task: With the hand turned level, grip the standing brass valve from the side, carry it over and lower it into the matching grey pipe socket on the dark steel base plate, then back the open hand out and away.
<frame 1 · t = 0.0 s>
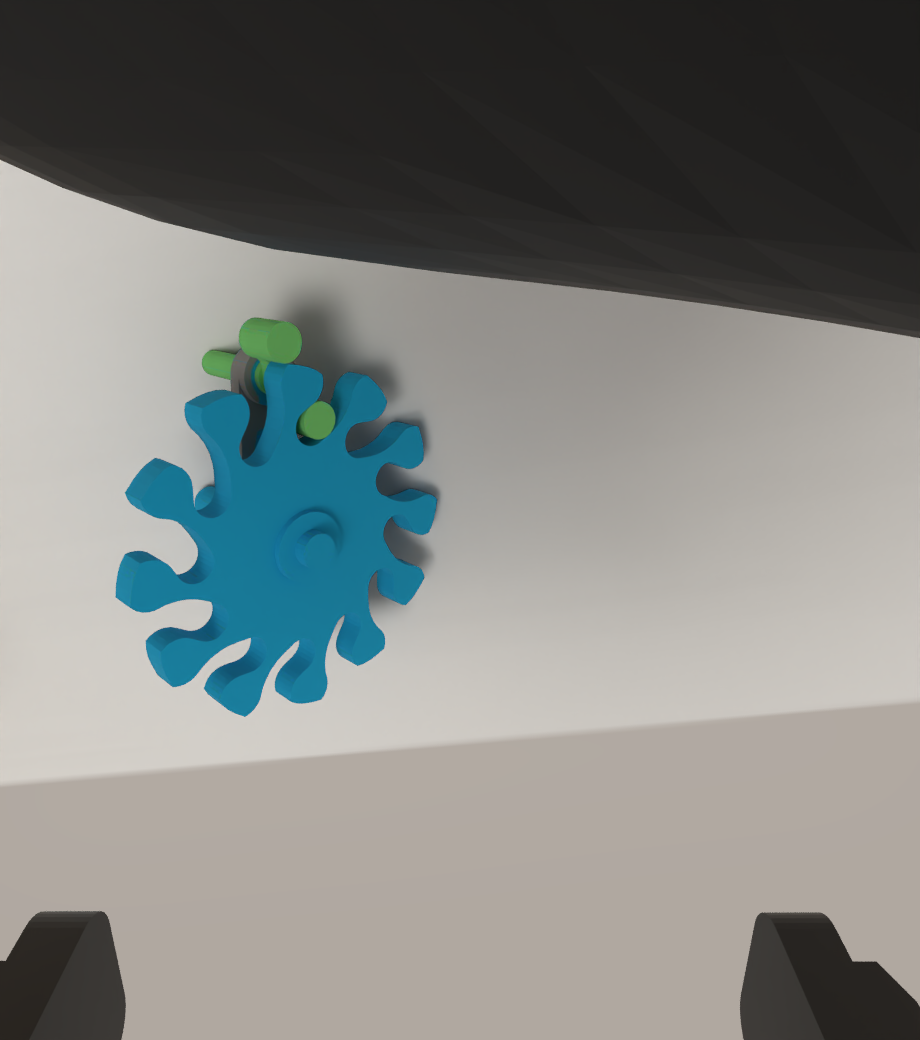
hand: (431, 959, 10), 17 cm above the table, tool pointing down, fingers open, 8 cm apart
gear: (315, 469, 26), on the table
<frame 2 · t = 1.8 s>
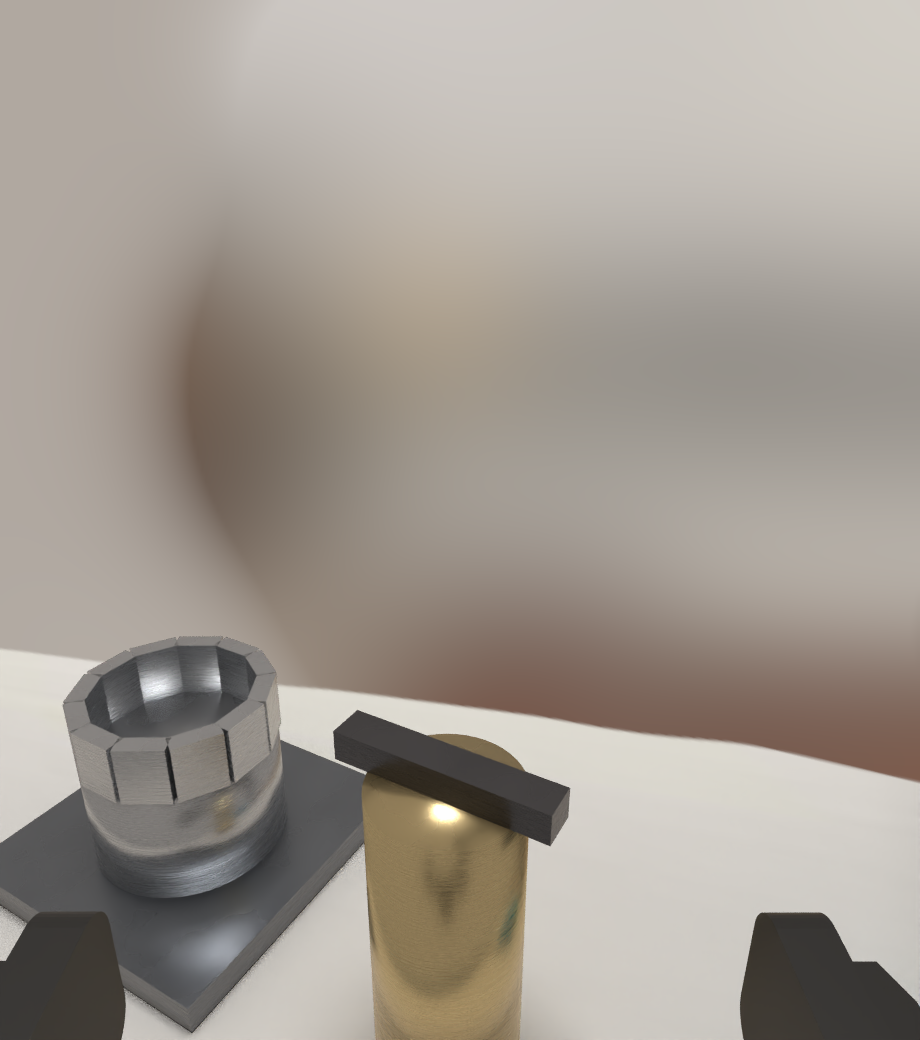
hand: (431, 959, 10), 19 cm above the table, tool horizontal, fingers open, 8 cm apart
pipe socket: (197, 844, 37), on the table
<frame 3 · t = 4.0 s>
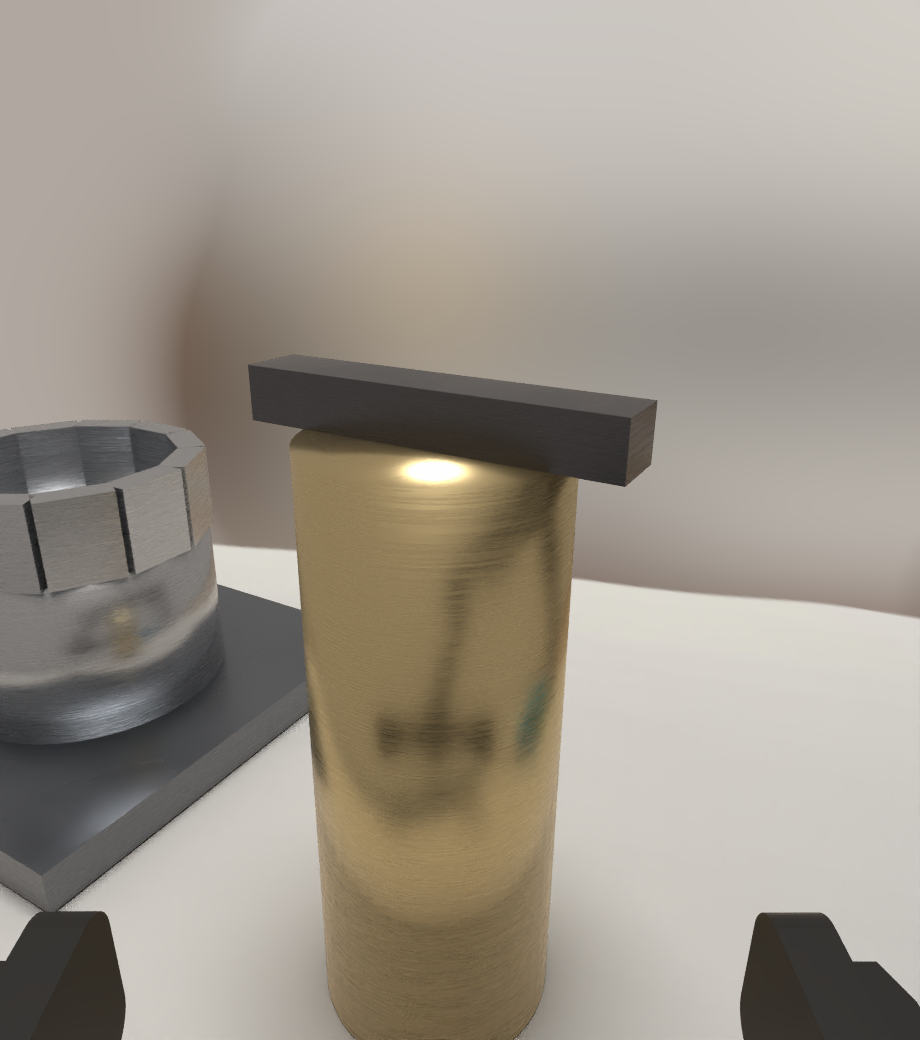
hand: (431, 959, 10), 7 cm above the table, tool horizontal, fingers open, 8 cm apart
brass valve: (436, 961, 18), on the table
pipe socket: (102, 697, 27), on the table
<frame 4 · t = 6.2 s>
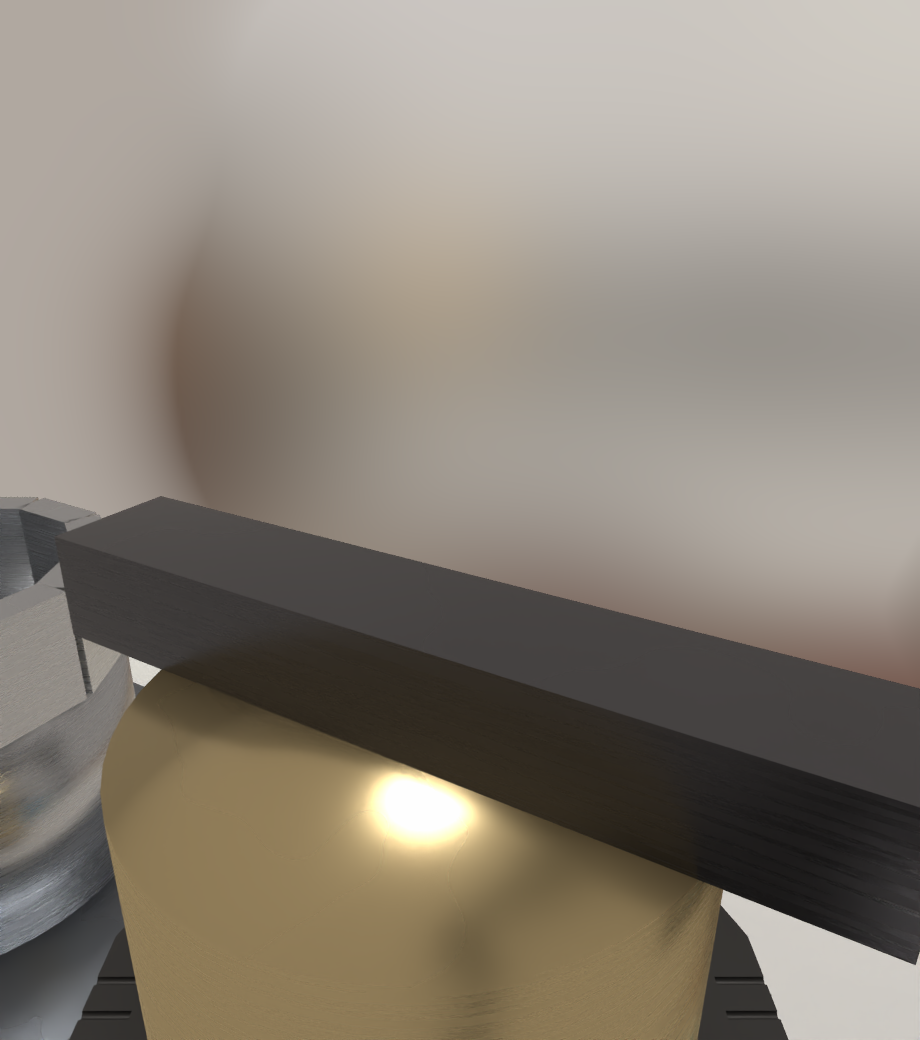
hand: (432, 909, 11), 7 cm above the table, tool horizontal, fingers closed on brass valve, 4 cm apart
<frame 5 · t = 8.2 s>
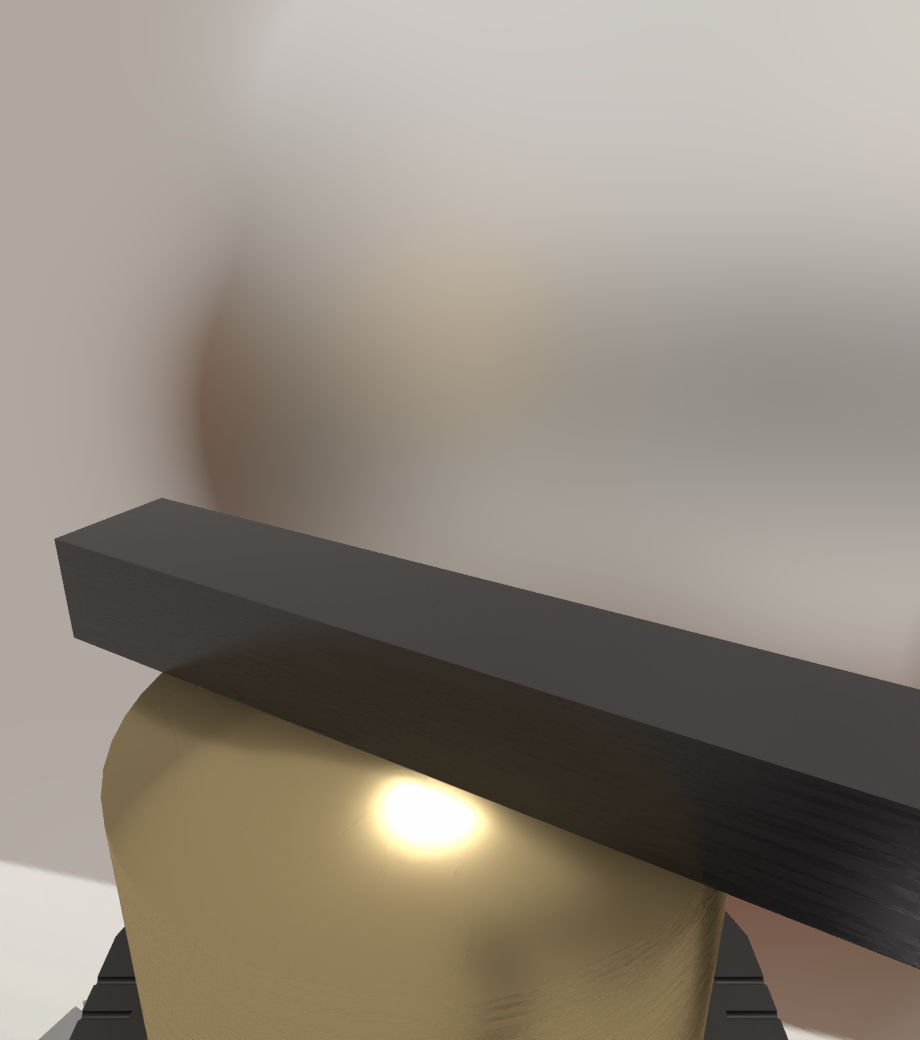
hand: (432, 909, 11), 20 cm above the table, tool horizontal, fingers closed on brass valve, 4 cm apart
when the fingers open (14 cm above the table, at t = 10.5 s): brass valve drops 1 cm, resting on pipe socket.
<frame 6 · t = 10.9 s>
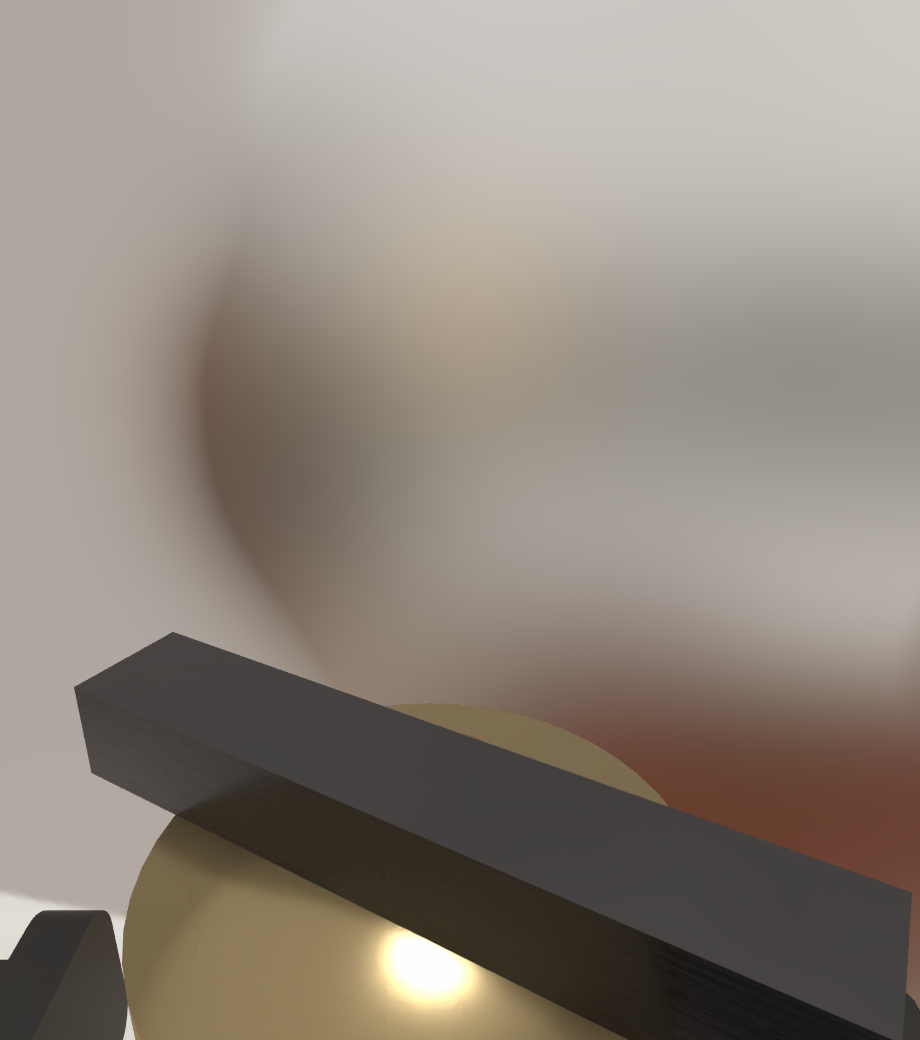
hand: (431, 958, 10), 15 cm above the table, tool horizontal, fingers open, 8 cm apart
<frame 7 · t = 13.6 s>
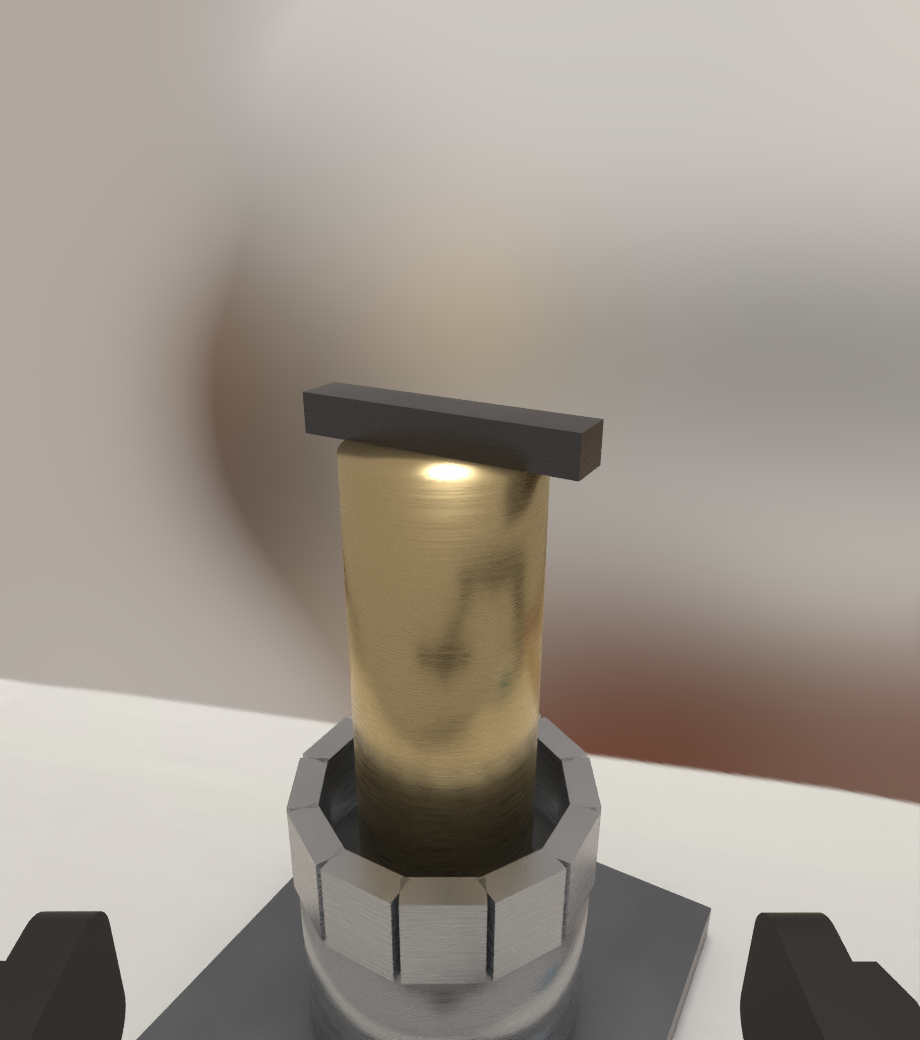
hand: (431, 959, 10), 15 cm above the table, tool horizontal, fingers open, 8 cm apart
brass valve: (446, 855, 23), point 6 cm above the table, touching pipe socket
pipe socket: (445, 1000, 25), on the table
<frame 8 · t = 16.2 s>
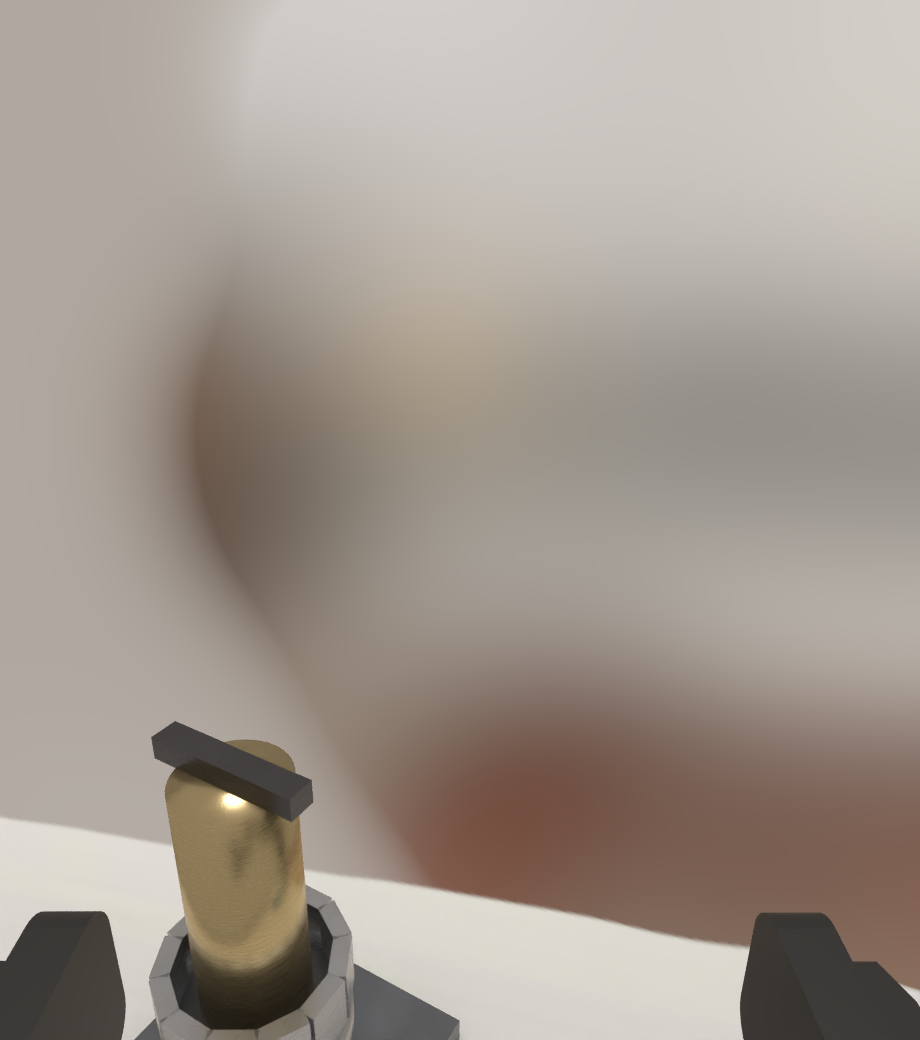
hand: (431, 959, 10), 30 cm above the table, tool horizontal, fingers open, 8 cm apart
brass valve: (258, 999, 35), point 6 cm above the table, touching pipe socket
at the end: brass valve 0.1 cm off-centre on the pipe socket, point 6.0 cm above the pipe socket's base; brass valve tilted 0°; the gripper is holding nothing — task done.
